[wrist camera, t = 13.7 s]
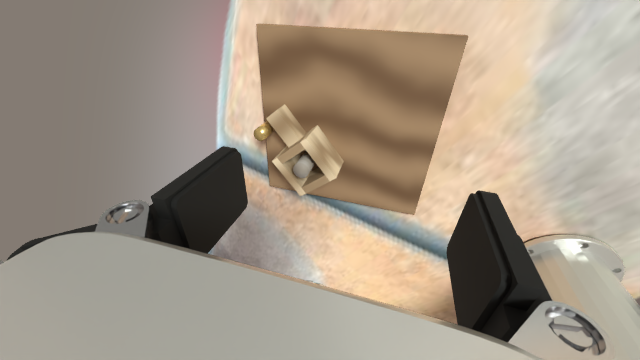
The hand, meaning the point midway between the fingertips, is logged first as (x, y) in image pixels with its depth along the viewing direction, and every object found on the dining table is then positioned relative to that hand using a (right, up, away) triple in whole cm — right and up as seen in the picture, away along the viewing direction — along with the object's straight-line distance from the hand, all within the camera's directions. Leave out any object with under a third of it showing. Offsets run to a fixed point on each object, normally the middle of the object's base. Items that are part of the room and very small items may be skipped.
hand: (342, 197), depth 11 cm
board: (+2, +8, +23) cm, 24 cm away
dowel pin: (-8, +8, +25) cm, 27 cm away
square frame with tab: (-3, +6, +24) cm, 25 cm away
